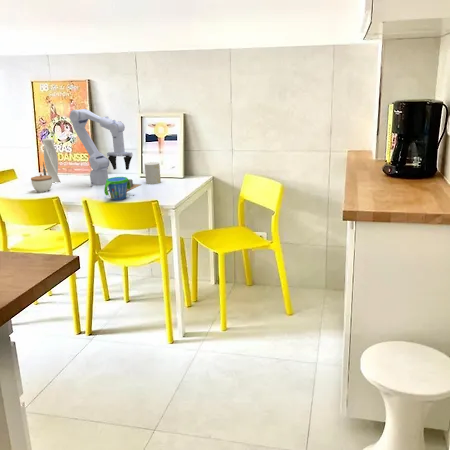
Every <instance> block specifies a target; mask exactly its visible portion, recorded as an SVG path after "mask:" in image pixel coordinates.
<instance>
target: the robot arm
mask: <svg viewBox="0 0 450 450" xmlns="http://www.w3.org/2000/svg"><path fill="white" fill-rule="evenodd" d="M69 120H70V121H71V123H72V128H73V130H74V132H75V133H76V135H77V137H78V139H79V140H80V141H81V143H82V145H83V146H84V148H85V150H86V151H87V153H88V155H89V159H88V161H89V164H90V167H91V169H92V170H91V171H90V172H89V179H90V187H94V186H95V185H96V186H105V184H106V180H107V179H108V178H109V174H108V169H109V166H110V164H111V166H112V169H113V170H117V157H123V161H124V166H125V171H128V170H130V163H131V160H132V158H133V156H134V155H133V152H129V151H128V152H127V151H125V150H126V149H125V140H124V131H125V124H124V122H122V121H119V120H118V121H116V120H115V119H112V118H110V117H109V116H107V115H105V116H101V115H100V116H99V115H98V114H96V113H94V112H92V111H91V110H89V109H87V108H82V109H72V110H71V111H70V114H69ZM89 120H90V121H93V122H95V123H98V124H99V126H100V127H102V128H104V129H106V130H108V131H109V132H110V134H111V137H112V146H113V151H111V152H110V151H109V152H106V156H105V154H104V153H102V152H100V151H99V150H98V148H97V146H96V143H95V142H94V141H93V139H92V137H91V136H90V134H89V133H88V131H87V129H86V126H87V124H88V121H89Z"/></svg>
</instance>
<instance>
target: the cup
mask: <svg viewBox="0 0 450 450" xmlns="http://www.w3.org/2000/svg"><path fill="white" fill-rule="evenodd" d="M160 166H161V165H160V162H157V161H155V162H154V161H153V162H151V161H150V162H146V163H144V172H145V183H146V185H156V184H160V183H161V182H162V180H161V167H160Z"/></svg>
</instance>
